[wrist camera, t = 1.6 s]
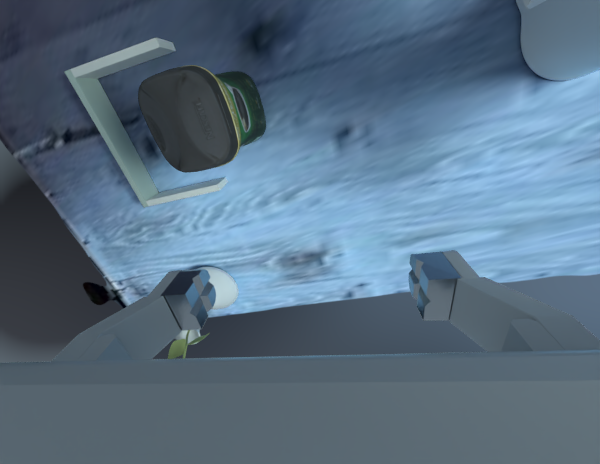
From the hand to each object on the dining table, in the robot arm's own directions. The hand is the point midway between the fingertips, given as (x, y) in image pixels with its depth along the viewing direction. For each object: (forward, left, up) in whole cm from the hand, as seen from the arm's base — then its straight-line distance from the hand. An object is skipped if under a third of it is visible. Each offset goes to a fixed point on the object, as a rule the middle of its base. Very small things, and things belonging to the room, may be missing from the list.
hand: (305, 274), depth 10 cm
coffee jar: (0, -13, -34) cm, 36 cm away
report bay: (+7, -24, -34) cm, 42 cm away
